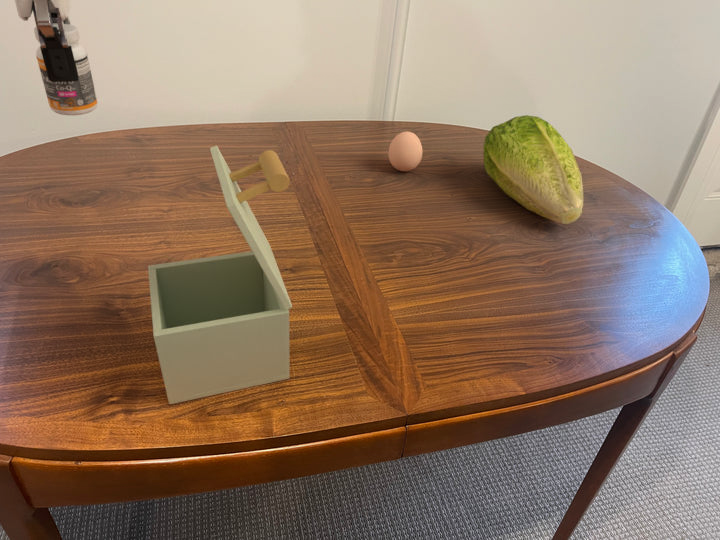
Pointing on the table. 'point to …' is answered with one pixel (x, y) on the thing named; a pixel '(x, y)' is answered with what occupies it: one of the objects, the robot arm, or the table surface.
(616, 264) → the table surface
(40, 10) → the robot arm
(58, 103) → the pill bottle
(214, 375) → the chest
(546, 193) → the lettuce
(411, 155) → the egg
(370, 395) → the table surface
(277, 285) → the lid
